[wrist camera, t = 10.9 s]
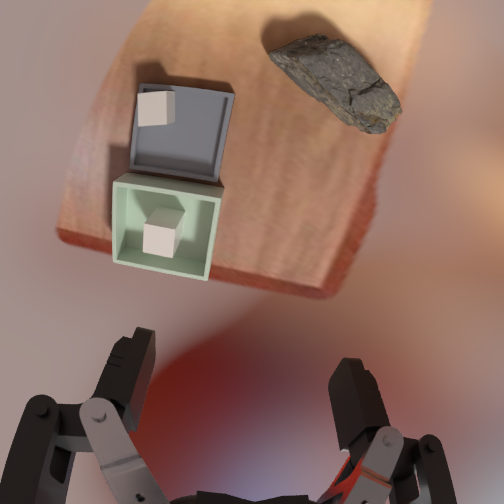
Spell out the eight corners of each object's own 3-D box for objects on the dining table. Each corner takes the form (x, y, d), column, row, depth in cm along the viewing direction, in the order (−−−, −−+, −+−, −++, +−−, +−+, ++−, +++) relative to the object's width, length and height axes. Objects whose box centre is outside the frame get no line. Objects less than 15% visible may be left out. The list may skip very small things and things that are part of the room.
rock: (419, 82, 27) (397, 148, 29) (390, 91, 34) (368, 149, 36) (296, 4, 23) (260, 70, 25) (282, 28, 30) (250, 87, 32)
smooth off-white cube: (148, 93, 32) (137, 93, 29) (175, 91, 32) (166, 90, 29) (149, 123, 34) (138, 126, 30) (175, 121, 34) (166, 124, 31)
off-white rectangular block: (157, 206, 40) (144, 223, 34) (185, 211, 40) (175, 229, 35) (155, 231, 41) (142, 252, 36) (182, 236, 42) (172, 258, 37)
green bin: (126, 172, 38) (113, 181, 34) (224, 187, 39) (221, 198, 35) (123, 247, 43) (113, 262, 39) (211, 263, 45) (207, 280, 41)
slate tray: (143, 83, 32) (139, 83, 31) (235, 94, 33) (234, 93, 32) (133, 166, 37) (129, 168, 36) (218, 179, 38) (217, 182, 37)
